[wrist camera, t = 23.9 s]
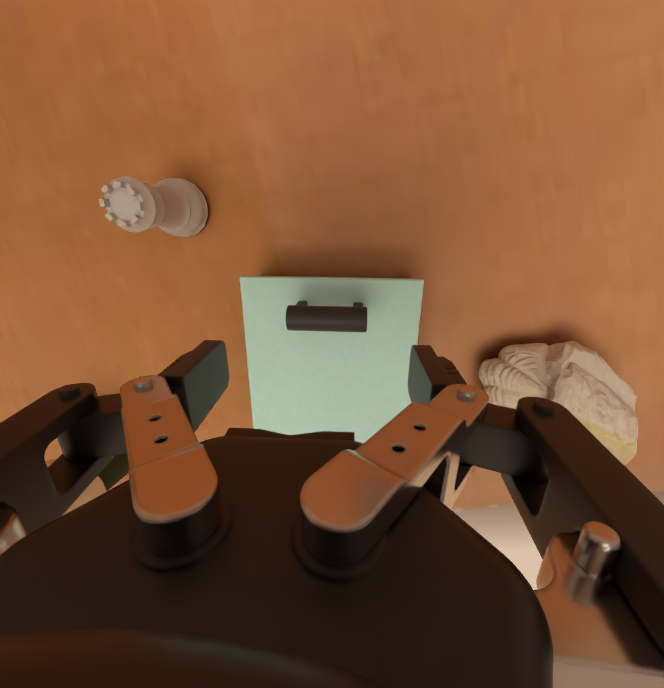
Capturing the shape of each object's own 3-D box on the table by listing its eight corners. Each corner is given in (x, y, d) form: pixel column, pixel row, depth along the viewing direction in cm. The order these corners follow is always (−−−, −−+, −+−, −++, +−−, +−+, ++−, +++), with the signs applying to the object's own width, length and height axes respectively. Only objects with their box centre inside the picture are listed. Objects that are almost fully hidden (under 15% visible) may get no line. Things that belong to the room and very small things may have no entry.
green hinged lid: (242, 275, 24) (217, 287, 20) (422, 278, 23) (438, 292, 19) (258, 457, 30) (242, 498, 25) (402, 464, 29) (411, 507, 25)
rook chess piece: (220, 219, 27) (171, 220, 20) (179, 246, 28) (117, 256, 21) (188, 166, 26) (122, 145, 19) (146, 196, 27) (67, 188, 20)
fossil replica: (479, 321, 29) (456, 411, 34) (511, 367, 22) (476, 475, 26) (626, 334, 28) (582, 427, 32) (714, 388, 20) (641, 498, 25)
